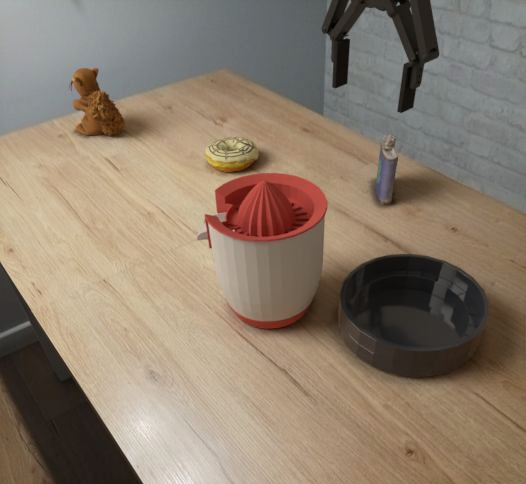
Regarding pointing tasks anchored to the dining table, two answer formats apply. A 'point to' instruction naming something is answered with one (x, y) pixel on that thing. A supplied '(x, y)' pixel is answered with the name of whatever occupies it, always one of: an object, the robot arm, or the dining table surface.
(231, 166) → the decorated donut
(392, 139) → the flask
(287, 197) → the citrus juicer
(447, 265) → the bowl
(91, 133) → the stuffed squirrel
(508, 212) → the dining table surface
